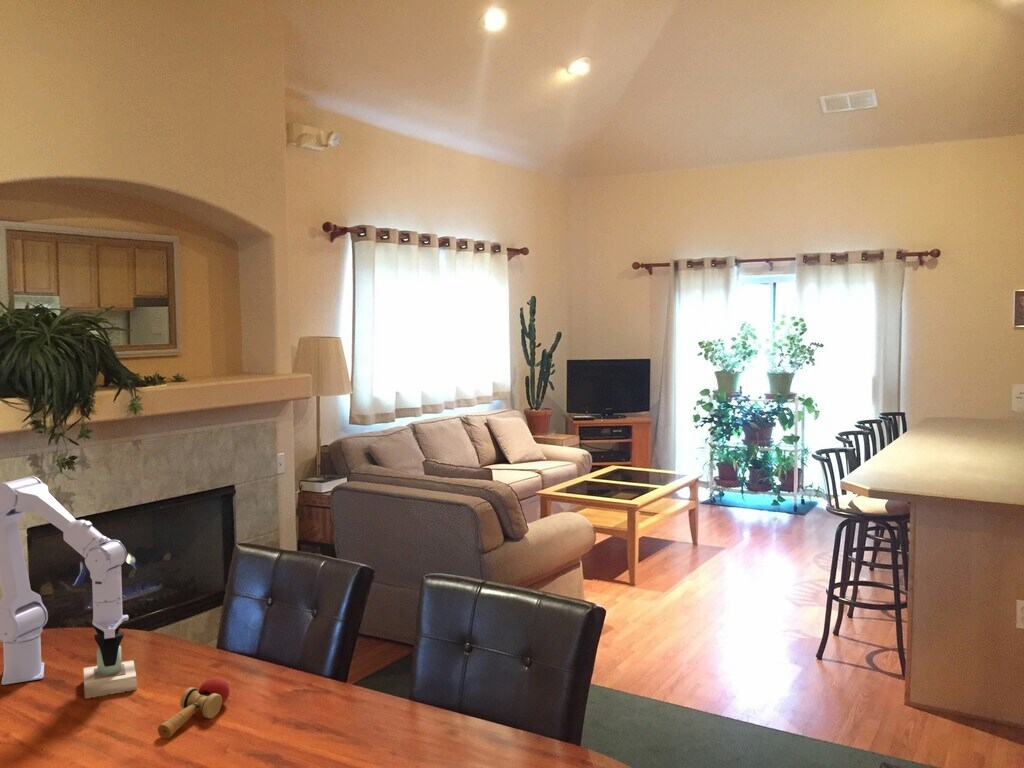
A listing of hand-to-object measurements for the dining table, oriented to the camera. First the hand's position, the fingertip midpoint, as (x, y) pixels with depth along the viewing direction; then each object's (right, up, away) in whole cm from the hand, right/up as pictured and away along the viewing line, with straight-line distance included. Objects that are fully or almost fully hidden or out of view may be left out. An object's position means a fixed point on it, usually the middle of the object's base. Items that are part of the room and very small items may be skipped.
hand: (109, 660), depth 189 cm
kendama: (+24, -7, -15) cm, 29 cm away
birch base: (0, -6, 0) cm, 6 cm away
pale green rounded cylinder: (0, -2, 0) cm, 2 cm away
